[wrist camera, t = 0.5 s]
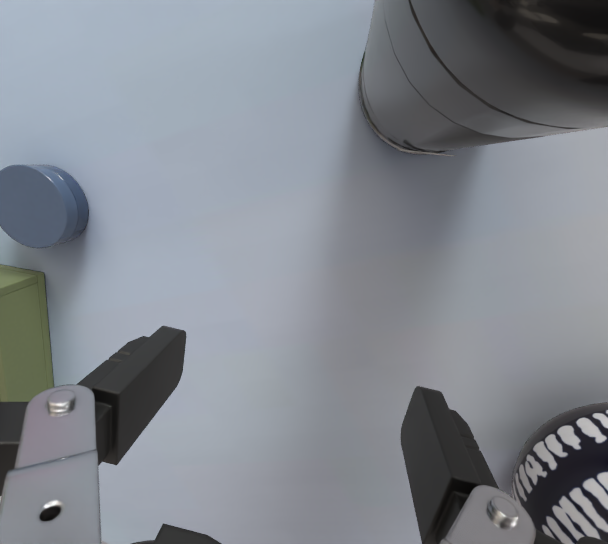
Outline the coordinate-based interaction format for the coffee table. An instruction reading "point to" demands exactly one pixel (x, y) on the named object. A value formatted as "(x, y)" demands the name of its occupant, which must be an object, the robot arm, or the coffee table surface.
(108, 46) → the coffee table surface
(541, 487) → the vase
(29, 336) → the tub
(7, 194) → the blue round puck
